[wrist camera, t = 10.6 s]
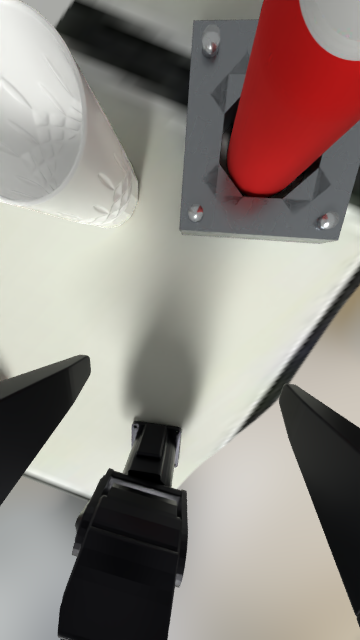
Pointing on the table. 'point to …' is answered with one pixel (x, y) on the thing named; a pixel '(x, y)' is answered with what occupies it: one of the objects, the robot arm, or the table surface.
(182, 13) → the table surface
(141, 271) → the table surface
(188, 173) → the housing
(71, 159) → the white cup
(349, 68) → the beverage can
